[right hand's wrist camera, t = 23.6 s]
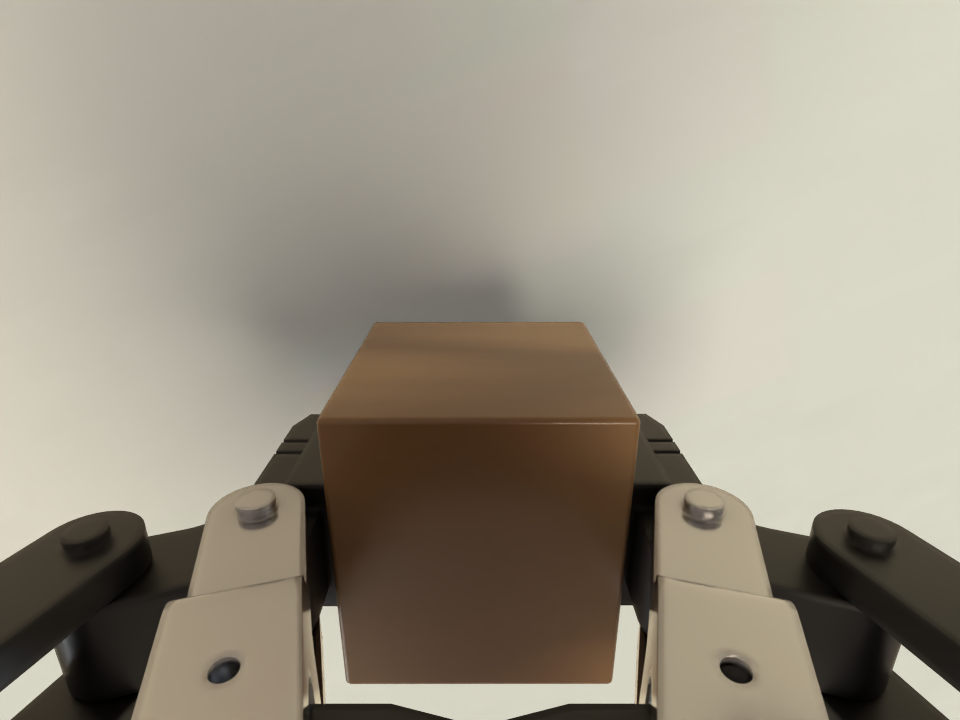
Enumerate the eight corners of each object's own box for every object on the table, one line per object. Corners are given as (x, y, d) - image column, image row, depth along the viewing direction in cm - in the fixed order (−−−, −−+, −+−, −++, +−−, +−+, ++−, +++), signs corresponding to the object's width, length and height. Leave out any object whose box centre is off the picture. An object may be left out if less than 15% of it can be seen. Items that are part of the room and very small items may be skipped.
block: (387, 516, 13) (344, 686, 9) (373, 321, 12) (313, 419, 7) (571, 516, 13) (613, 685, 9) (584, 321, 12) (642, 419, 7)
